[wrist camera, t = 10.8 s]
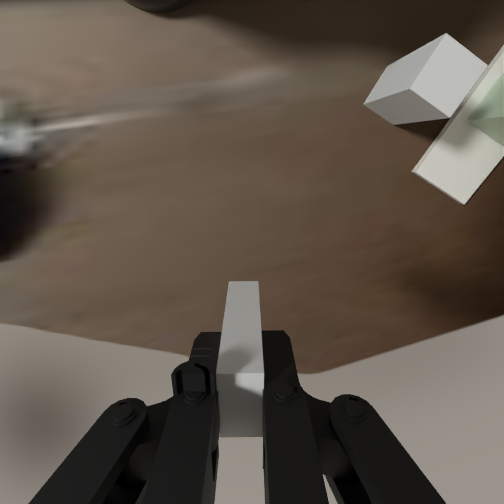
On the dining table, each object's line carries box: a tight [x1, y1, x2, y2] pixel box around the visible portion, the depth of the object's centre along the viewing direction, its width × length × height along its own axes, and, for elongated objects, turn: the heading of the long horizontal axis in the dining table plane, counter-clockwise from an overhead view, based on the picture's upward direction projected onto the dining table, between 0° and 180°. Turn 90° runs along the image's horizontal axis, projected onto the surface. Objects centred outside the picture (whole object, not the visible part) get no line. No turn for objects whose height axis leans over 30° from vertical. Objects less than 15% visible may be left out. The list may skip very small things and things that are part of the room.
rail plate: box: [412, 45, 504, 204], centre depth 40 cm, size 19×9×1 cm, turn 150°
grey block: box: [363, 33, 488, 125], centre depth 33 cm, size 5×5×12 cm
